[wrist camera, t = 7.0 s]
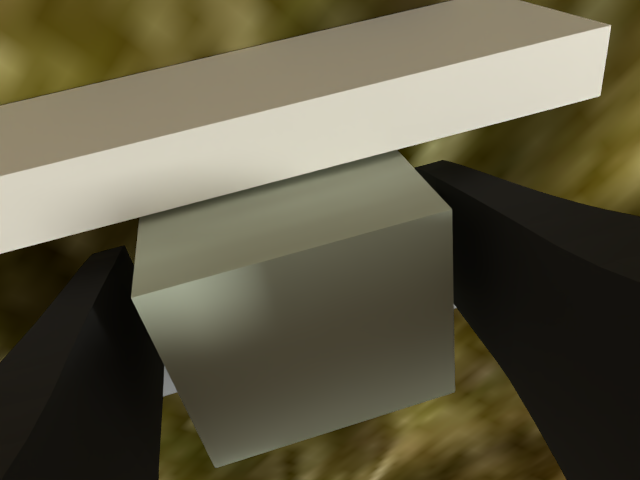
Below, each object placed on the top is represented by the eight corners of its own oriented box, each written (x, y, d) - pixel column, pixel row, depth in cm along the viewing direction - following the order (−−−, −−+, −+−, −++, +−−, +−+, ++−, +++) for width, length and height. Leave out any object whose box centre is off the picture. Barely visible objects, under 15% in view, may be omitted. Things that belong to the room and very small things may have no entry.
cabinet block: (358, 227, 14) (454, 392, 9) (199, 270, 14) (215, 468, 9) (338, 87, 12) (452, 208, 7) (148, 133, 12) (130, 297, 7)
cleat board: (481, 263, 16) (559, 353, 13) (98, 375, 15) (78, 507, 12) (488, -8, 12) (611, 25, 8) (-61, 119, 10) (-166, 216, 7)
